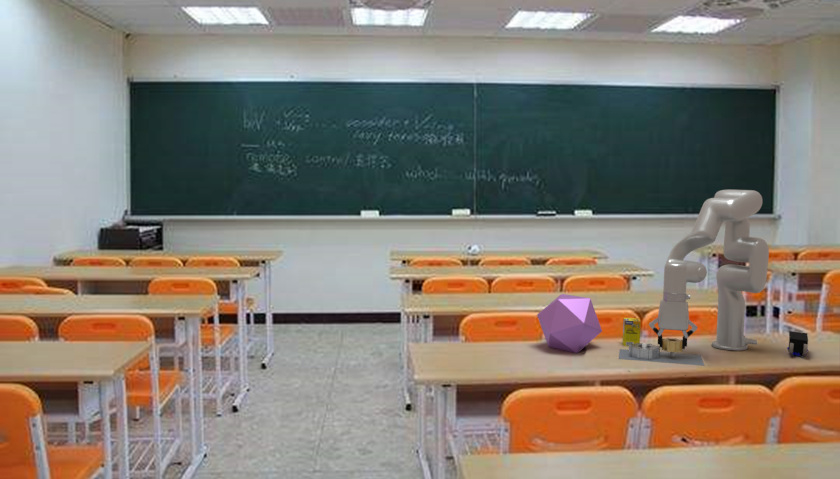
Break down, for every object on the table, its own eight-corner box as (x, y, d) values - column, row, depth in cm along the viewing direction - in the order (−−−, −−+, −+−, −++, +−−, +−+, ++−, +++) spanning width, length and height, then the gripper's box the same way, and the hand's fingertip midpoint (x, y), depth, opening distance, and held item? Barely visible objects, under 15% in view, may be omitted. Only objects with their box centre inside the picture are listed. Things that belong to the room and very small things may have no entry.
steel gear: (658, 353, 261) (659, 344, 260) (659, 360, 251) (660, 350, 250) (628, 351, 264) (629, 342, 263) (628, 358, 254) (628, 348, 253)
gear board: (700, 358, 259) (701, 342, 259) (704, 369, 245) (705, 352, 245) (619, 352, 267) (620, 337, 267) (618, 362, 253) (619, 346, 252)
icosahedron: (615, 339, 259) (597, 279, 272) (561, 341, 254) (545, 280, 267) (591, 363, 277) (575, 306, 290) (540, 366, 272) (526, 307, 285)
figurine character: (808, 364, 259) (806, 350, 272) (810, 343, 257) (808, 330, 271) (787, 362, 262) (786, 348, 275) (788, 341, 260) (787, 329, 274)
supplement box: (640, 350, 271) (641, 321, 270) (623, 349, 272) (624, 320, 271) (638, 346, 277) (639, 318, 276) (622, 345, 278) (623, 317, 277)
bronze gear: (681, 348, 258) (682, 338, 258) (682, 352, 252) (683, 343, 251) (661, 346, 260) (661, 337, 260) (661, 351, 254) (662, 341, 253)
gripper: (699, 297, 256) (697, 347, 257) (648, 294, 261) (646, 343, 262) (701, 300, 248) (699, 352, 250) (648, 297, 253) (646, 347, 255)
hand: (672, 347), depth 256 cm, fingers closed on bronze gear, 7 cm apart
